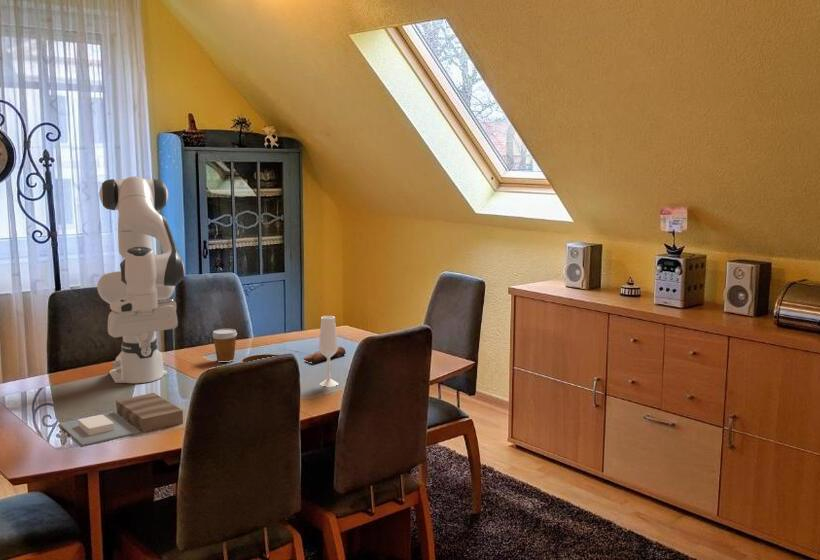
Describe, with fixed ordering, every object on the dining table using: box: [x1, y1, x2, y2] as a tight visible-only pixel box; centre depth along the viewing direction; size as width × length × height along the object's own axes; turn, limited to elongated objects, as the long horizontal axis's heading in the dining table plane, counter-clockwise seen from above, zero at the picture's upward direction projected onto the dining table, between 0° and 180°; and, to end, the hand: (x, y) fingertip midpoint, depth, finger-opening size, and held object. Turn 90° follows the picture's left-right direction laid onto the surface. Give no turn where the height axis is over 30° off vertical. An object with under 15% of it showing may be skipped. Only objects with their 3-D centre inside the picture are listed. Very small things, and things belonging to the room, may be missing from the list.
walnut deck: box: [115, 392, 184, 433], centre depth 230 cm, size 22×12×4 cm, turn 40°
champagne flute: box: [318, 315, 339, 388], centre depth 264 cm, size 7×7×24 cm
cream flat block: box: [78, 414, 114, 435], centre depth 220 cm, size 10×7×2 cm
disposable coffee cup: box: [211, 328, 238, 361], centre depth 294 cm, size 10×10×12 cm
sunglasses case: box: [302, 346, 346, 364], centre depth 299 cm, size 18×7×7 cm
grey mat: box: [58, 411, 141, 447], centre depth 221 cm, size 22×16×1 cm
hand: (144, 347), depth 227 cm, fingers closed
